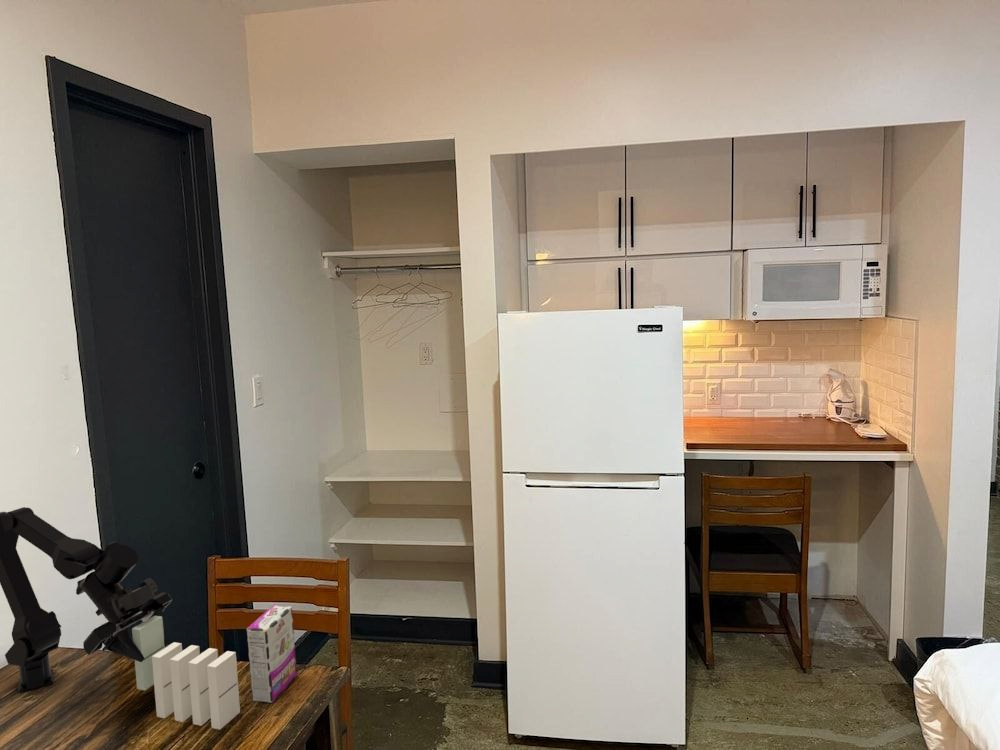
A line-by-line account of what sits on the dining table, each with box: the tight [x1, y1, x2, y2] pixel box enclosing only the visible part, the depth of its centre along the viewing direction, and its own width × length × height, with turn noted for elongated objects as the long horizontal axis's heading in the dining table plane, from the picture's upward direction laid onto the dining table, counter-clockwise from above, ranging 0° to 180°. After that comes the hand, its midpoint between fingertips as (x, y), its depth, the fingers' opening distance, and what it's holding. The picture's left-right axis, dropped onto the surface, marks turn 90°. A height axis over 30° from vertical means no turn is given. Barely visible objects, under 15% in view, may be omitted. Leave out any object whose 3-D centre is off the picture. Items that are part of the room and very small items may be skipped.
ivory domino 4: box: [207, 650, 241, 730], centre depth 141 cm, size 2×6×13 cm, turn 162°
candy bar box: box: [246, 604, 298, 704], centre depth 152 cm, size 11×5×16 cm, turn 168°
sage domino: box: [131, 616, 166, 691], centre depth 146 cm, size 2×6×13 cm, turn 162°
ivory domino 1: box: [152, 641, 183, 719], centre depth 145 cm, size 2×6×13 cm, turn 162°
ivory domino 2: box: [170, 644, 201, 723], centre depth 144 cm, size 2×6×13 cm, turn 162°
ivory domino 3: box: [188, 647, 219, 727], centre depth 142 cm, size 2×6×13 cm, turn 162°
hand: (155, 652), depth 146 cm, fingers closed on sage domino, 6 cm apart
